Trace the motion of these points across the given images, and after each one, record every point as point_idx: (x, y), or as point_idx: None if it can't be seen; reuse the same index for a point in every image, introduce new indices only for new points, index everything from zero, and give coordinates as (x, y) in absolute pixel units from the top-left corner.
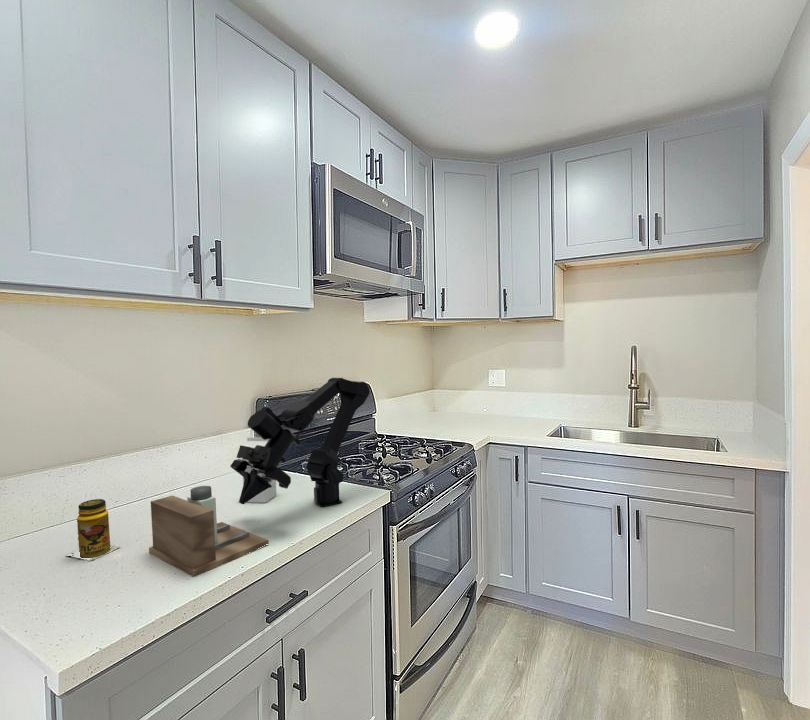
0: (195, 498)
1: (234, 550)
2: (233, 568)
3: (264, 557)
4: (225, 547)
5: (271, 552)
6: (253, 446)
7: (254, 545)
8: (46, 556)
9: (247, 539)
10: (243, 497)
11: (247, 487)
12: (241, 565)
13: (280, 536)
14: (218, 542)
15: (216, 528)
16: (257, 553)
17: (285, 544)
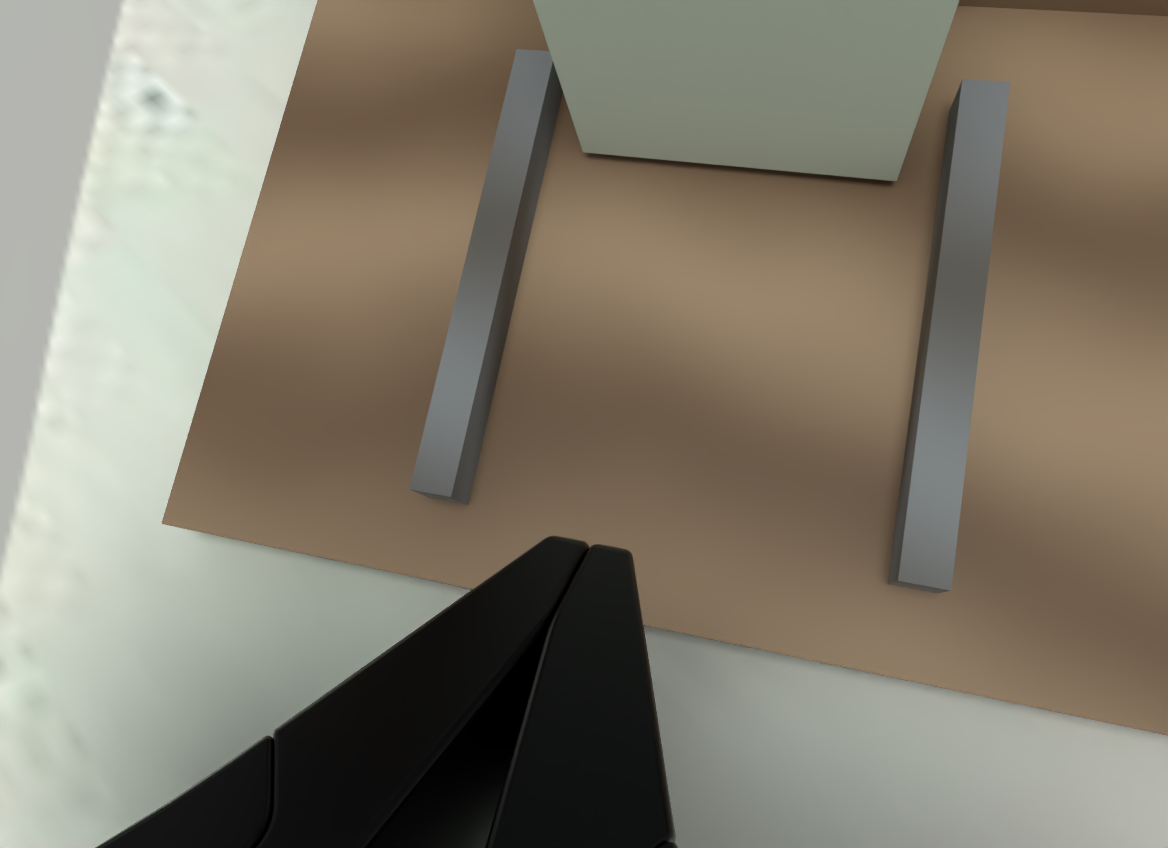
0: None
1: (333, 171)
2: (208, 49)
3: (81, 302)
4: (478, 176)
5: (77, 406)
6: None
7: (216, 342)
8: None
9: (394, 425)
10: (478, 592)
11: (361, 834)
12: (179, 112)
13: (205, 773)
14: (656, 221)
15: (542, 15)
16: (189, 332)
17: (41, 611)
